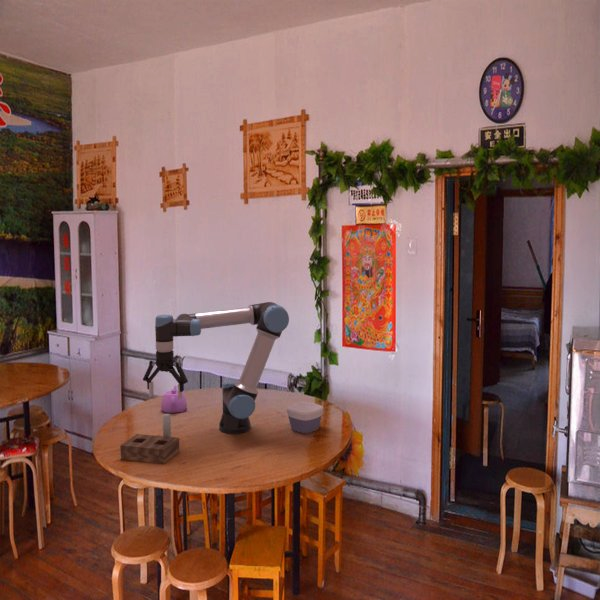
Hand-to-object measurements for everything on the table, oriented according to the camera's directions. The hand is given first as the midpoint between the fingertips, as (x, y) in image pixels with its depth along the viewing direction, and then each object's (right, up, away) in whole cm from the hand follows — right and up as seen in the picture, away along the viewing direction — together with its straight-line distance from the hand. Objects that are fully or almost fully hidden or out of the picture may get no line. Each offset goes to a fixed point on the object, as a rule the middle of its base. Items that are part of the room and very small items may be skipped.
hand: (165, 397), depth 262 cm
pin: (0, -22, +3) cm, 22 cm away
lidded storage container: (+62, -19, +24) cm, 69 cm away
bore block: (-5, -23, -8) cm, 25 cm away
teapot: (-7, -15, +53) cm, 56 cm away
